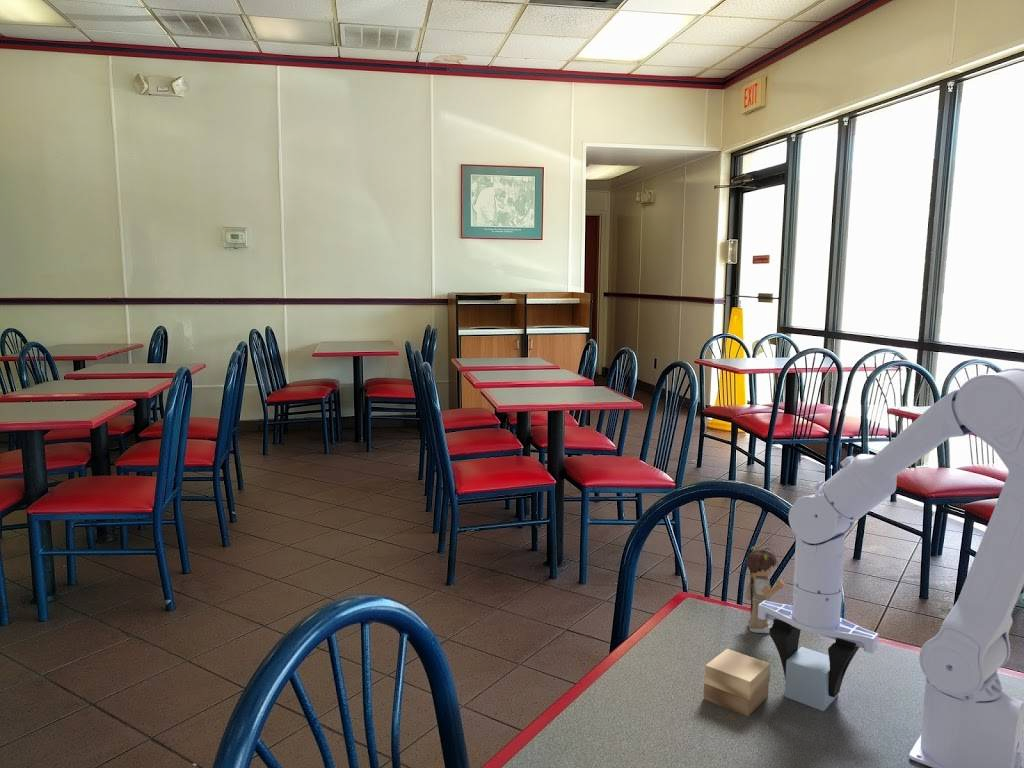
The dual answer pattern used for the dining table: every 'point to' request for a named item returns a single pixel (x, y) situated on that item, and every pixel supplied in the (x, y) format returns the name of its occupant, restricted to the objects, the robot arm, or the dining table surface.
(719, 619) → the dining table surface
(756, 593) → the toy
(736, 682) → the upper slab
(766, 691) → the lower slab
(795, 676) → the cube
